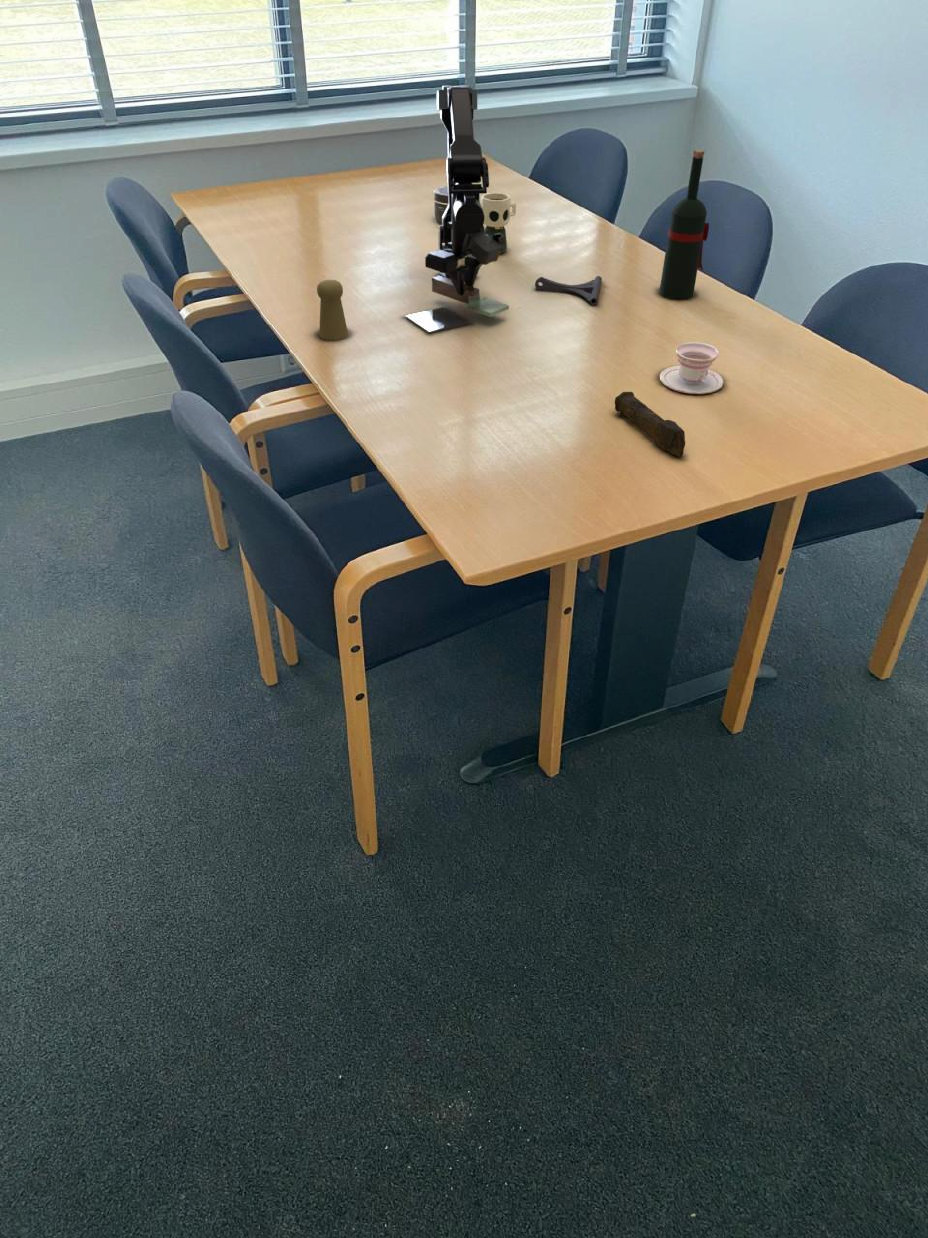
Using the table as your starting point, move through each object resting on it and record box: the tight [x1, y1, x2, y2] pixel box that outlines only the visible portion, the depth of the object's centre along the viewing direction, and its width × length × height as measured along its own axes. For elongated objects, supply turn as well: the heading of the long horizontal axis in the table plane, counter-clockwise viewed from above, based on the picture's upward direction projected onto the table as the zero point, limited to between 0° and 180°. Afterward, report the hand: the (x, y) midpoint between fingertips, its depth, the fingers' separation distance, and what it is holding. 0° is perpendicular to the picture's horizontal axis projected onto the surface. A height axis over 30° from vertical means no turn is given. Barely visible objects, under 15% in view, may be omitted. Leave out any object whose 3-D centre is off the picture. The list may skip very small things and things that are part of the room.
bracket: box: [534, 275, 603, 306], centre depth 210 cm, size 14×15×3 cm
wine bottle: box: [658, 149, 710, 301], centre depth 202 cm, size 8×10×30 cm
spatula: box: [431, 274, 510, 318], centre depth 199 cm, size 19×6×3 cm, turn 47°
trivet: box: [405, 306, 470, 334], centre depth 197 cm, size 10×10×1 cm
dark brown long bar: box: [614, 391, 686, 458], centre depth 158 cm, size 19×4×5 cm, turn 21°
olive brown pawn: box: [316, 279, 349, 341], centre depth 187 cm, size 6×6×11 cm
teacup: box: [659, 341, 724, 395], centre depth 173 cm, size 12×12×6 cm
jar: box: [433, 185, 448, 225], centre depth 249 cm, size 10×10×8 cm
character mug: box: [480, 192, 517, 252], centre depth 228 cm, size 11×7×13 cm, turn 111°
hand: (464, 293), depth 199 cm, fingers closed on spatula, 2 cm apart
